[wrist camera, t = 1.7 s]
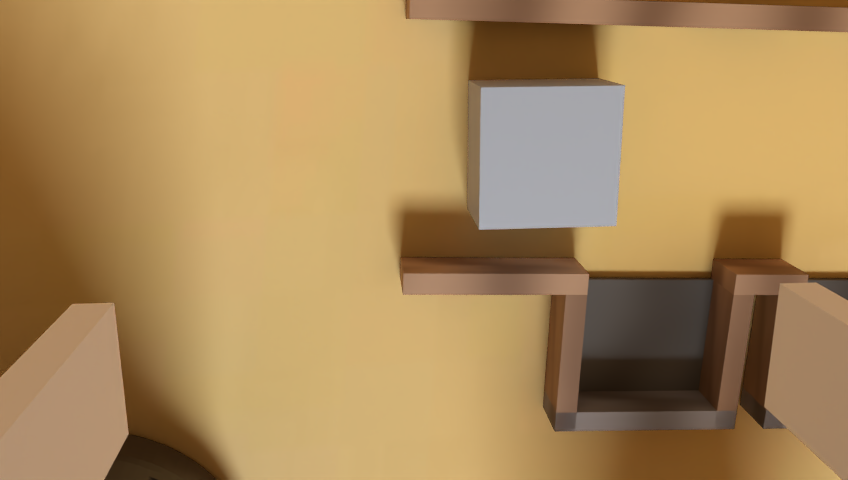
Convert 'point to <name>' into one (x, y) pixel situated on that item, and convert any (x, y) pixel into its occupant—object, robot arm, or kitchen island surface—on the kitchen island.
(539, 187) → the gray block
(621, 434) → the kitchen island surface
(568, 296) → the trap lane
